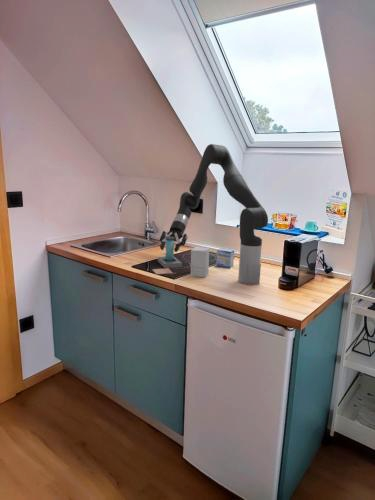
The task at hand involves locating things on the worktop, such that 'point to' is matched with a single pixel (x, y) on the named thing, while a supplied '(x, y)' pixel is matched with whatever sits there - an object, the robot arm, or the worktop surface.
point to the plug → (169, 248)
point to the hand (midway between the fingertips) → (168, 250)
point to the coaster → (162, 271)
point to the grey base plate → (169, 263)
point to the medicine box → (225, 258)
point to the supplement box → (199, 262)
